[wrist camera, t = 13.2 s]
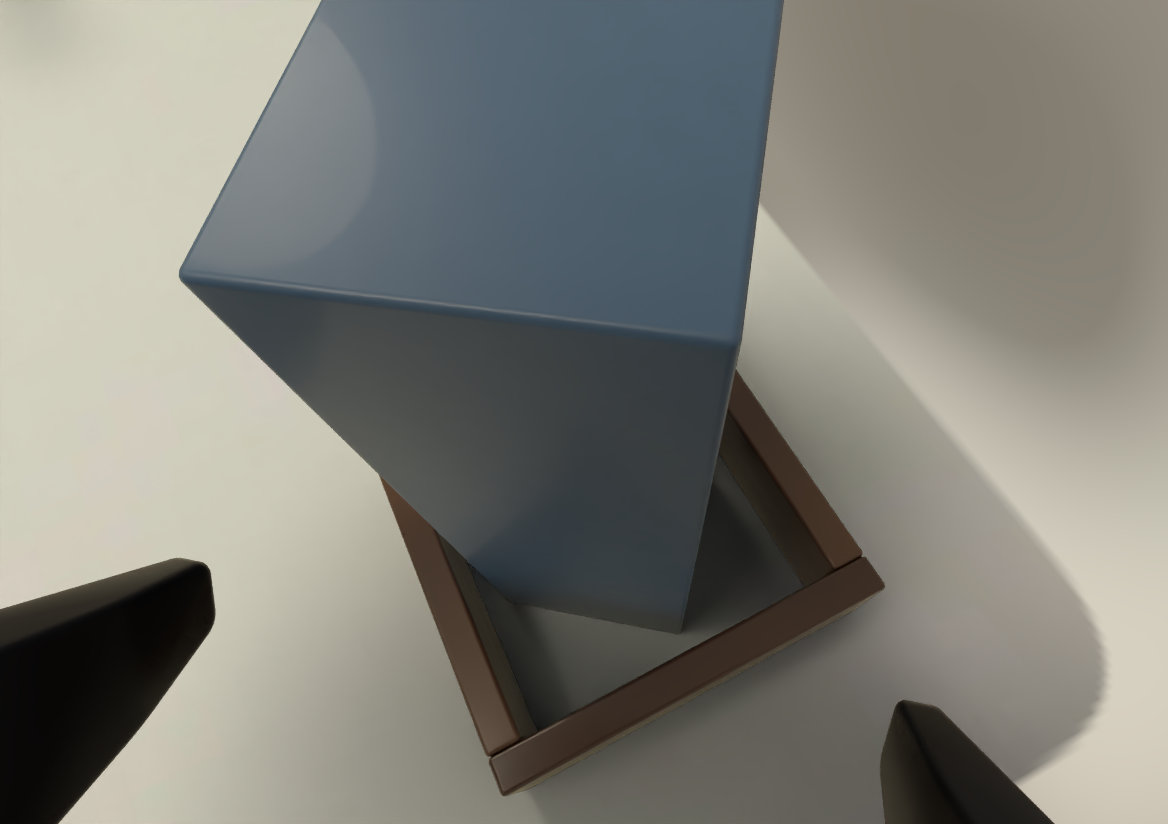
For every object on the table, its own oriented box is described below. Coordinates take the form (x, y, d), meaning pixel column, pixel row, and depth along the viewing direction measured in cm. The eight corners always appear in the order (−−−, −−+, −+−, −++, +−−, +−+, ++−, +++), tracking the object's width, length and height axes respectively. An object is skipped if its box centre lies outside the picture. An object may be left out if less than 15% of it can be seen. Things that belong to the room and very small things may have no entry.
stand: (854, 609, 15) (888, 585, 13) (525, 790, 15) (501, 798, 12) (674, 337, 19) (676, 282, 17) (398, 470, 18) (361, 430, 16)
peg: (680, 635, 16) (740, 345, 4) (507, 601, 16) (170, 276, 5) (703, 467, 17) (791, -61, 6) (545, 443, 18) (354, -71, 7)
